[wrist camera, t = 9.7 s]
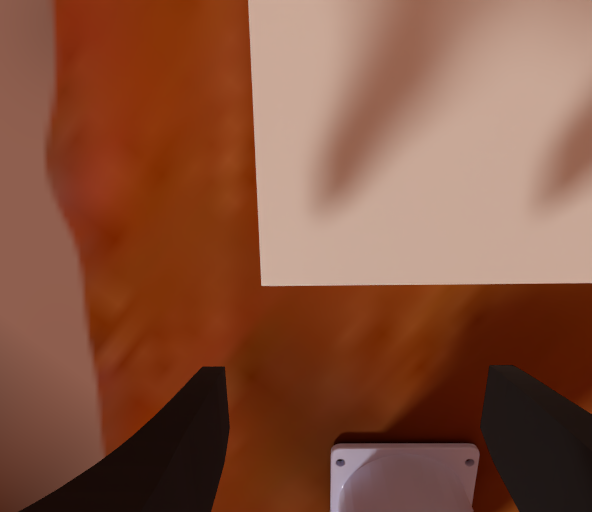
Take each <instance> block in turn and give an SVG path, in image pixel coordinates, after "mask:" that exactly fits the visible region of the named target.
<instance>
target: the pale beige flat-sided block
mask: <svg viewBox="0 0 592 512" xmlns="http://www.w3.org/2000/svg"><path fill="white" fill-rule="evenodd" d="M248 4H249V26H250V48H251V69H252V91H253V112H254V134H255V156H256V177H257V199H258V220H259V242H260V264H261V285H262V286H311V285H424V284H537V283H592V0H248Z"/></svg>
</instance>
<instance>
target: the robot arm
mask: <svg viewBox="0 0 592 512" xmlns="http://www.w3.org/2000/svg"><path fill="white" fill-rule="evenodd" d="M480 428H481V431H482V433H483V436H484V439H485V442H486V445H487V447H488V450H489V452H490V455H491V457H492V460H493V462H494V464H495V466H496V468H497V470H498V472H499V474H500V476H501V478H502V480H503V482H504V484H505V485H506V487H507V489H508V491H509V493H510V495H511V497H512V498H513V500H514V502H515V504H516V506H517V508H518V510H519V511H520V512H592V414H590V413H589V412H587V411H585V410H584V409H582V408H581V407H579V406H577V405H576V404H574V403H573V402H571V401H569V400H568V399H566V398H565V397H563V396H562V395H560V394H558V393H557V392H555V391H554V390H552V389H551V388H549V387H548V386H546V385H544V384H543V383H541V382H540V381H538V380H537V379H535V378H533V377H532V376H530V375H529V374H527V373H525V372H524V371H522V370H520V369H519V368H517V367H515V366H513V365H490V366H489V372H488V379H487V385H486V392H485V399H484V405H483V412H482V418H481V425H480ZM229 429H230V426H229V413H228V401H227V389H226V377H225V367H202V368H201V369H200V370H199V371H198V372H197V373H196V374H195V375H194V376H193V377H192V378H191V379H190V380H189V381H188V382H187V383H186V384H185V386H184V387H183V388H182V389H181V390H180V391H179V392H178V393H177V394H176V395H175V396H174V397H173V398H172V399H171V400H170V401H169V402H168V403H167V404H166V405H165V406H164V407H163V408H162V409H161V410H160V411H159V412H158V413H157V414H156V415H155V416H154V417H153V418H152V419H151V420H150V421H148V422H147V423H146V424H145V425H144V426H143V427H142V428H141V429H140V430H138V431H137V432H136V433H135V434H134V435H133V436H132V437H131V438H129V439H128V440H127V441H126V442H124V443H123V444H122V445H121V446H119V447H118V448H117V449H116V450H114V451H113V452H112V453H110V454H109V455H108V456H106V457H105V458H104V459H102V460H101V461H100V462H98V463H97V464H95V465H94V466H92V467H91V468H90V469H88V470H86V471H85V472H83V473H82V474H80V475H79V476H77V477H76V478H74V479H73V480H71V481H70V482H68V483H67V484H65V485H64V486H62V487H60V488H59V489H57V490H56V491H54V492H52V493H51V494H49V495H47V496H45V497H44V498H42V499H40V500H39V501H37V502H35V503H34V504H32V505H30V506H28V507H26V508H24V509H23V510H21V511H19V512H211V510H212V506H213V502H214V499H215V495H216V492H217V488H218V484H219V481H220V477H221V473H222V470H223V466H224V462H225V455H226V449H227V443H228V436H229ZM479 456H480V453H479V450H478V448H477V447H476V445H474V444H471V443H340V444H336V445H334V446H333V447H332V449H331V490H330V512H474V511H473V508H472V501H473V494H474V488H475V482H476V475H477V469H478V462H479ZM338 459H343V460H342V461H337V460H338ZM467 459H470V460H469V461H466V460H467Z"/></svg>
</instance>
